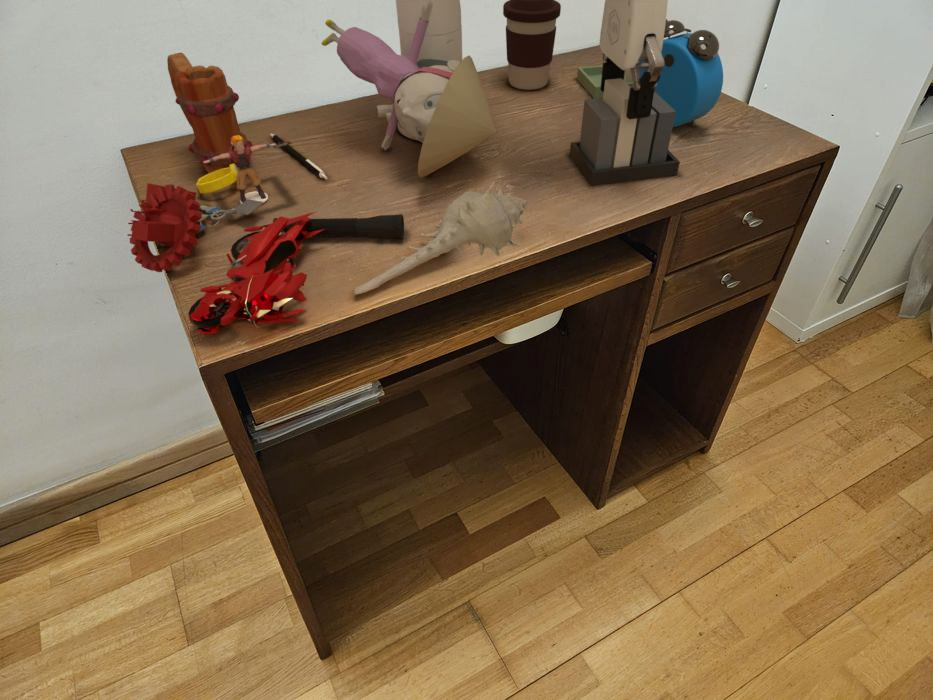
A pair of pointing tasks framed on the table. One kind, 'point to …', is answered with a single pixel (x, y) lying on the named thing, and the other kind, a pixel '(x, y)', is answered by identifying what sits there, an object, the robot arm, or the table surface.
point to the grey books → (647, 137)
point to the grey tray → (623, 169)
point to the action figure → (246, 167)
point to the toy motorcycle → (257, 278)
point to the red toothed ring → (165, 226)
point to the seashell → (463, 231)
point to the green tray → (592, 80)
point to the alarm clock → (689, 72)
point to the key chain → (229, 211)
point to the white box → (620, 120)
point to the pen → (300, 157)
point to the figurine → (421, 93)
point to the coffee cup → (530, 41)
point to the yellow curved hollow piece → (217, 179)
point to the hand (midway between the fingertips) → (624, 103)
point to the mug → (206, 109)
